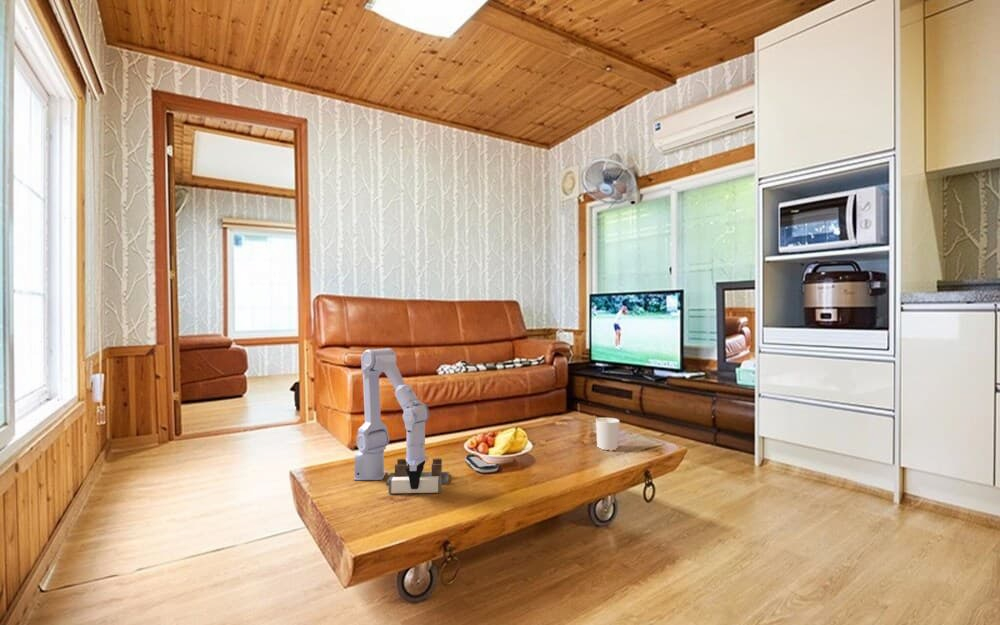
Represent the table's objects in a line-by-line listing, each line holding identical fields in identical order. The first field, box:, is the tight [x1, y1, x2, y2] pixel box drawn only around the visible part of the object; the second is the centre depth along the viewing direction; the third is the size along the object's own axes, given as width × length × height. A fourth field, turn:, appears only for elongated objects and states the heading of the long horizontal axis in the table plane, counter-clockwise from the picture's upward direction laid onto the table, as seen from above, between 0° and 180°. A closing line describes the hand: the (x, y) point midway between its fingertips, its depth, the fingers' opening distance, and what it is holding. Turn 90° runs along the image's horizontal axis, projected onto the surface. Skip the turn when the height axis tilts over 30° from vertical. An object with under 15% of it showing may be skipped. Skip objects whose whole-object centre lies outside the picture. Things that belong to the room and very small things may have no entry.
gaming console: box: [464, 453, 500, 475], centre depth 175 cm, size 19×9×2 cm, turn 21°
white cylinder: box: [595, 417, 621, 450], centre depth 198 cm, size 10×10×12 cm
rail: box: [388, 476, 442, 494], centre depth 148 cm, size 16×3×4 cm, turn 94°
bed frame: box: [385, 457, 450, 486], centre depth 159 cm, size 20×9×6 cm, turn 94°
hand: (415, 486), depth 148 cm, fingers closed on rail, 3 cm apart
